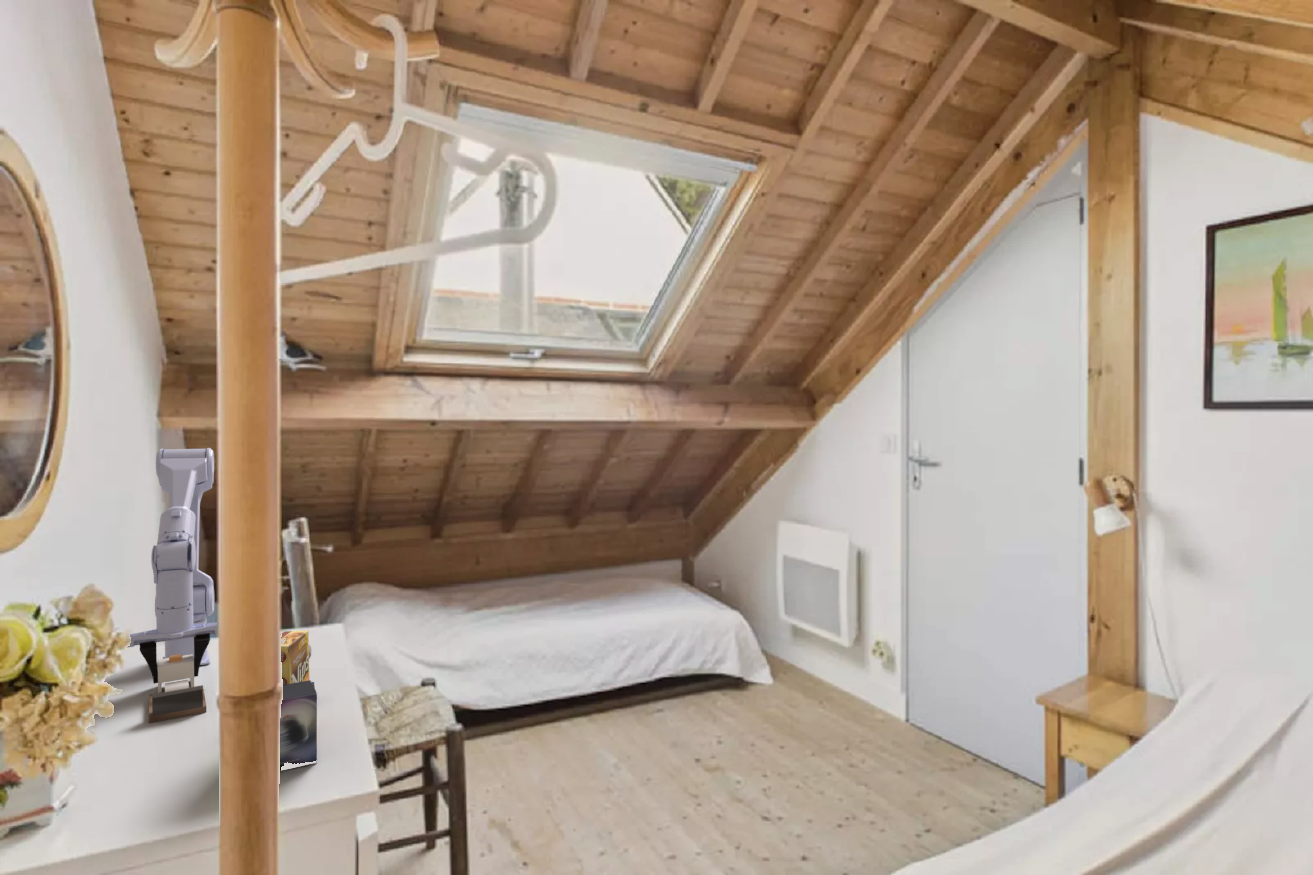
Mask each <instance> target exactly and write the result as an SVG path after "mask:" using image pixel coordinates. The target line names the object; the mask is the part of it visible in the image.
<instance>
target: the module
mask: <svg viewBox="0 0 1313 875" xmlns="http://www.w3.org/2000/svg"><path fill="white" fill-rule="evenodd" d="M157 669H158V683H157V693H161V692H163V691H162V687H163V686H162V683H164V684H165V683H170V682H176V681H182V680H188V679H189V683H190V684H189V685H190V687H195V677H194V659H193V654H191V655H184V656H182V654H179V655H172V656H169V658H165V659H163V658H160V659H158V658H157Z"/></svg>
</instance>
